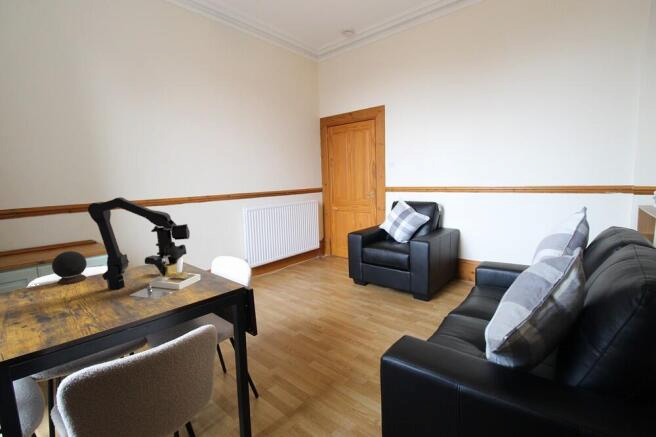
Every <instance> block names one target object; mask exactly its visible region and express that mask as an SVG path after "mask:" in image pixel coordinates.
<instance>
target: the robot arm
mask: <svg viewBox="0 0 656 437" xmlns="http://www.w3.org/2000/svg"><path fill="white" fill-rule="evenodd" d="M117 208H120V209H122V210H124V211H127V212H129V213H132V214H135V215H137V216H139V217H142V218H144V219H146V220H148V221H149V222H150V223H151V224H153V225H155V226H154V227H153V228H152V229H151V231H150V232H151V233H156V237H157V243H155V246H156V247H158V251H157V252H156V255H154V254H153V255H152V254H151V255H149V256H146V257H145V258H144V264H145V265H154V266H155V267H156V268H157V269H158V271H159V273H160V272H161V274H162V275H163V276H165V264H166V261H165V259H164V258H167V257H168V260H169V263H173V264H177V261H178V259H179V258H180V257H182V256H183V257H184V255H187V248H186V245H185V244H180V245H176V243H175V241H177V240H178V241H179V240H189V239H190V228H189V226H188V224H187V223H184V224H176V222H175V221H174V220H172V218H171V215H170V214H169V213H167V212H166V211H161V210H154V209H150V208H147V207H145V206H143V205H141V204H137V203H136V202H132V201H130V200H128V199H126V198H124V197H122V196H119V197H114V199H110V200H106V201H98V202H93V203H90V204H89V205H88V207H87V212H88V215H90V218H91V219H92V220H93V221H94V223H96V225H97V227H98V230H99V234H100V236H101V239H102V243H103V245H104V248H105V250H106V254H107V258H106V267H107V269H106V271H105V272H104V273H103V274H102V275H101V276H102V279H103V280H104V281H106V286H107V289H108V290H109V291H114V290H115V291H116V290H122V289H124V288H125V287H126V286H125V279H124V275H123V274H124V273H125V271H126V270H127V268H128V267H129V263H130V261H129V259H128V255H127V254H126V253H125V254H123V253H122V252H121V250H120V248H119V243H118V242H117V239H116V236H115V233H114V230H113V226H112V224H111V216H112V213H111V210H115V209H117ZM173 239H174V240H175V241H173Z"/></svg>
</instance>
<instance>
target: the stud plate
mask: <svg viewBox="0 0 656 437" xmlns="http://www.w3.org/2000/svg"><path fill="white" fill-rule="evenodd" d="M174 292H175V289H166V288H157V287H152V286H150V285H147V286H146V287H145V288H143V289H141V290H137V291H135V292H134V293H131V294H129V296H131V297H140V298H147V299H154V300H159V299H161V298H163V297H166V296H167V295H168V296H169V295H170V294H173V293H174Z"/></svg>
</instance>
